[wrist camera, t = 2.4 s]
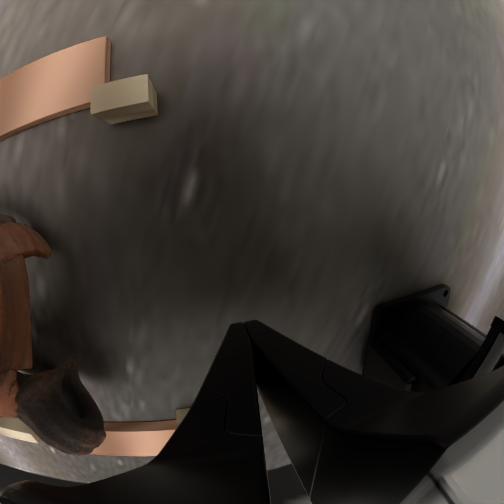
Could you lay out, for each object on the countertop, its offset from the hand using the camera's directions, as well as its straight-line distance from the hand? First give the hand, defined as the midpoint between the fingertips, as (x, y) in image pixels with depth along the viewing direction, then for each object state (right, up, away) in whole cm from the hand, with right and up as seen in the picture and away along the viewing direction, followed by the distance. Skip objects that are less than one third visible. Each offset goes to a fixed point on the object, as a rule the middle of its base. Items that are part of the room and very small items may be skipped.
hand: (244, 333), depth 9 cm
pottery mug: (-12, -1, +2) cm, 12 cm away
